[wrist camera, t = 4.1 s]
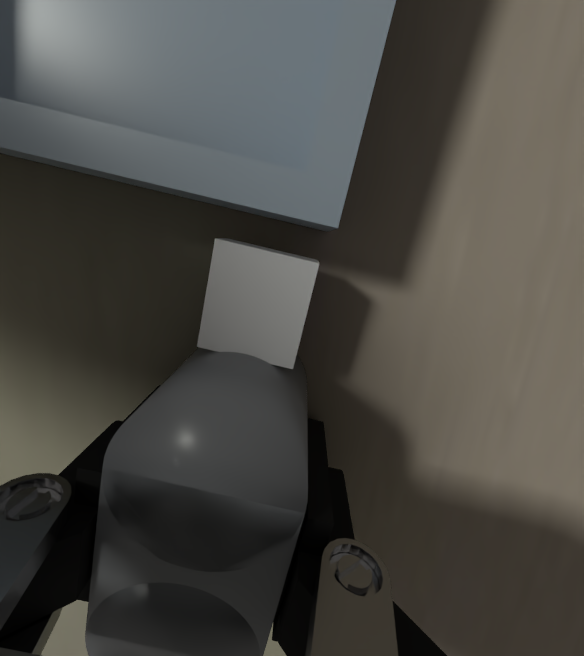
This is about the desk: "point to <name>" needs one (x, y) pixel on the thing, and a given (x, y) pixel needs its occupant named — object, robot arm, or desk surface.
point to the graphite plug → (210, 475)
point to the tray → (197, 96)
